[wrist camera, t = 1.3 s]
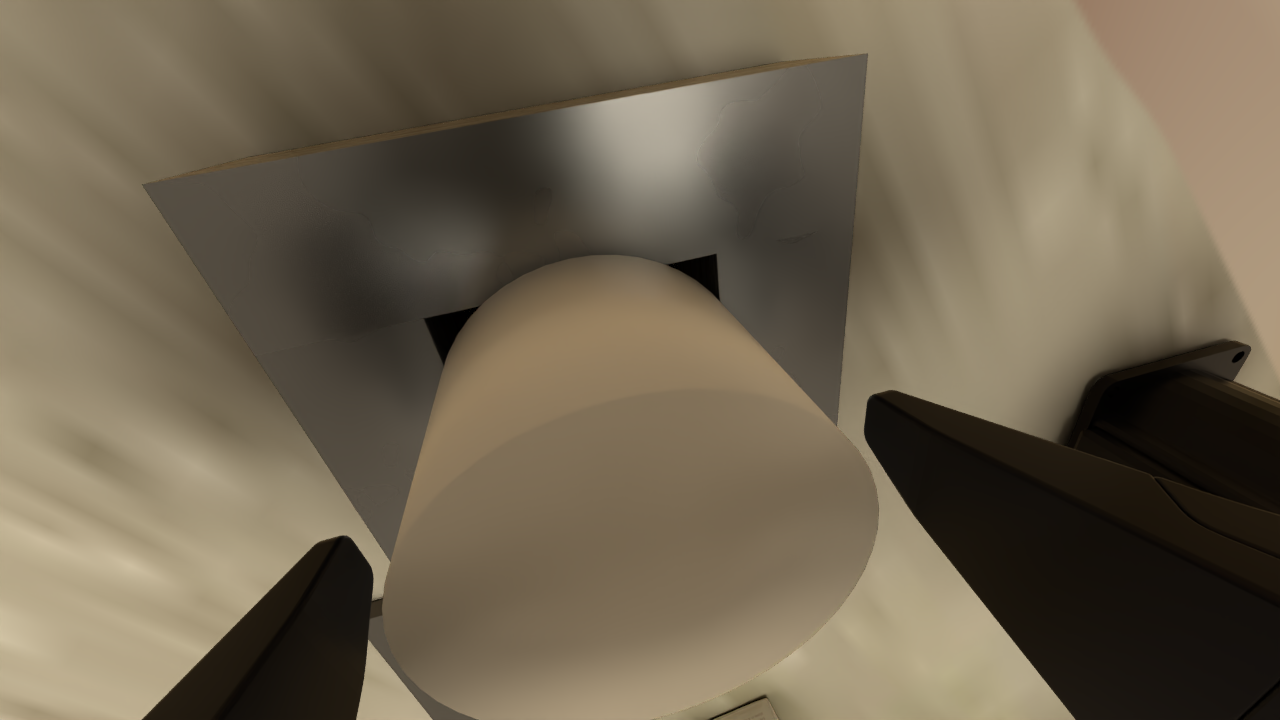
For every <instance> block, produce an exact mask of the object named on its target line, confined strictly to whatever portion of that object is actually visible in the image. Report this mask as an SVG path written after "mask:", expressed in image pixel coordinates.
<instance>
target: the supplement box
mask: <svg viewBox="0 0 1280 720" xmlns="http://www.w3.org/2000/svg"><path fill="white" fill-rule="evenodd" d="M713 720H779V719H778V717H777V715H776V713H775V711H774V709H773V707H772V706H771V704H770V702H769V700H768V699H767V698H764V699H761V700H759V701H756V702H753V703H751V704H749V705H746V706H744V707H741V708H739V709H737V710H735V711H732V712H730V713H728V714H725V715H723V716H720V717H718V718H715V719H713Z"/></svg>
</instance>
